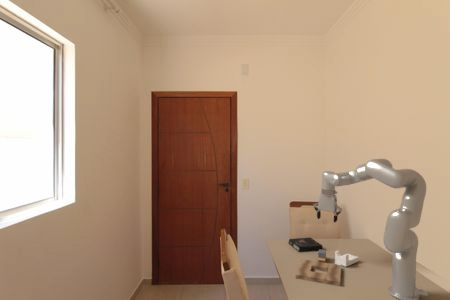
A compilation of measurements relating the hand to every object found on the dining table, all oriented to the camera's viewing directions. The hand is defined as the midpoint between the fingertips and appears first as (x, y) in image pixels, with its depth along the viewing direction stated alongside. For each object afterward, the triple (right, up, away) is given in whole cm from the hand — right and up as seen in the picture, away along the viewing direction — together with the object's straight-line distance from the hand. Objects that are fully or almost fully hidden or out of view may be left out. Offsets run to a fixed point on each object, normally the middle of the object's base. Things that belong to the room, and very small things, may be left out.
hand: (326, 220), depth 173 cm
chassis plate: (-9, -26, -13) cm, 31 cm away
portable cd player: (-6, -26, +27) cm, 38 cm away
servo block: (-2, -26, +3) cm, 26 cm away
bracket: (+12, -26, 0) cm, 29 cm away
